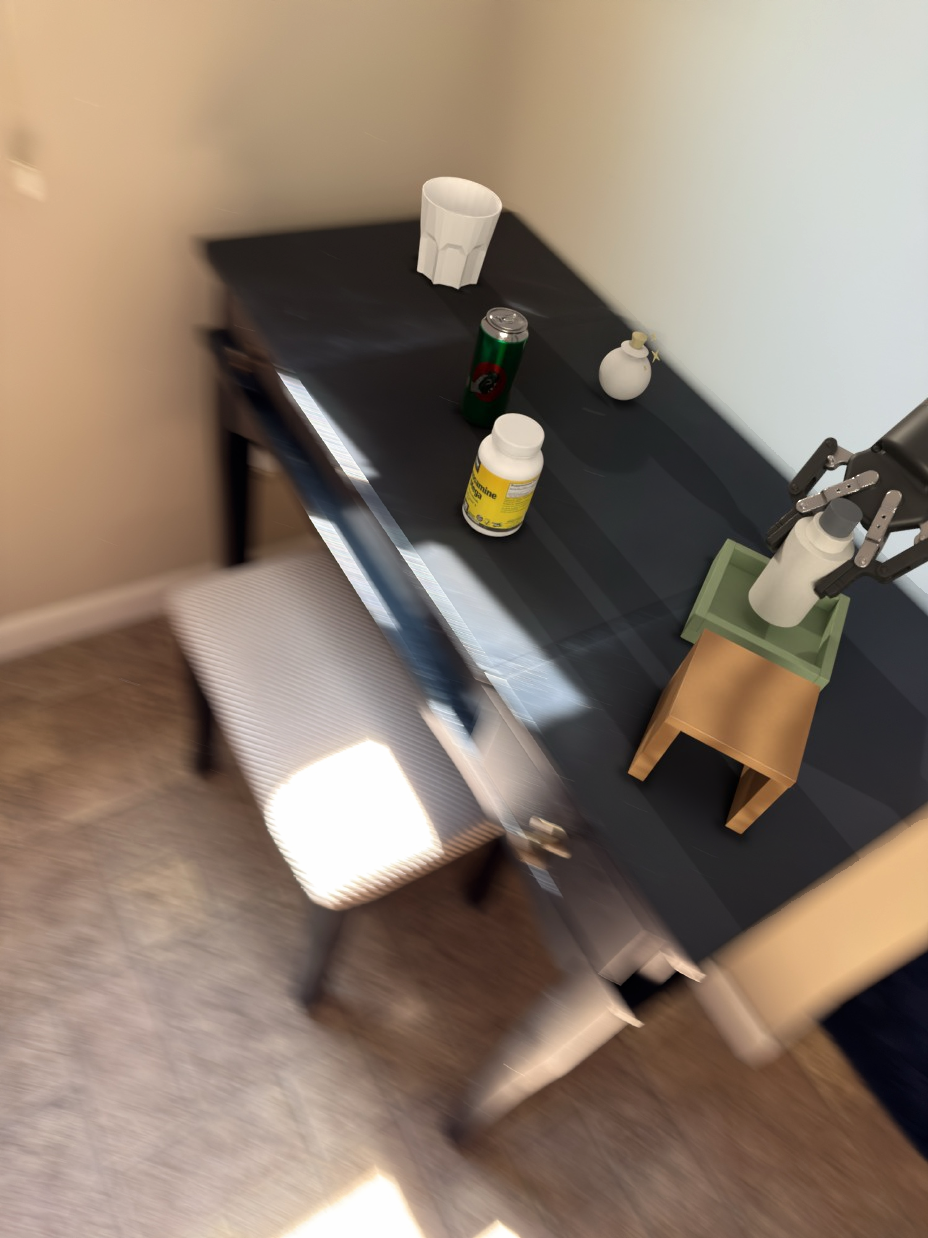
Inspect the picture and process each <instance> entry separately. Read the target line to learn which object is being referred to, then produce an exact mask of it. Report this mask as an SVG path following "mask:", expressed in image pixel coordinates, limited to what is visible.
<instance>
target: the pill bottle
mask: <svg viewBox="0 0 928 1238" xmlns="http://www.w3.org/2000/svg"><path fill="white" fill-rule="evenodd" d="M544 440H545V431H544V429H543V427H542V426H541V425H540V424H539V422H537V421H536V420H534V419H533V418H531V417H530V416H527V415H524V414H522V413H521V414H520V413H514V412H512V413H505V415H502V416H500V417H499V418H498V419H497V420H496V421H495V424H494V426H492V430H491V433H490V434H489V435H487V436H486V437H485V438H484V439H483V440H482V441H481V443H480V445H479V447H478V450H477V453H476V457H475V460H474V464H473V467H472V471H471V475H470V478H469V482H468V484H467V487H466V492H465V494H464V495H465V496H464V499H463V503H462V514H463V517H464V519H465V521H466V522H467V523H468V524H469V526H470V527H471V528H472V529H474V530H475V531H476V532H478V533H481V534H483V535H486V536H489V537H506V536H509V535H512V534H514V533H516V532H517V531H518V530H520V528H521V526H522V525H523V522H524V519H525V516H526V513H527V512H528V509H529V507H530V503H531V500H532V498H533V495H534V492H535V490H536V486H537V484H538V481H539V478H540V476H541V474H542V470H543V468H544V467H543V466H544V455H543V452H542V450H541V449H542V446H543V443H544Z"/></svg>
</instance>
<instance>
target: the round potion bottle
mask: <svg viewBox="0 0 928 1238" xmlns="http://www.w3.org/2000/svg"><path fill="white" fill-rule="evenodd" d="M650 336H651V339H650V342H651V343H652V342H653V340H655V341H657V338H656V337H655V336H656V332H654V333H653V334H652V333H651V332H650ZM648 339H649V337H648V335H646V334H645V333H644V332H641V331H633V332H632V335H631V340H624V341H622V343H620V344H621V345H620V347H617V348H614V349H613V350H611V351H610V352H609V353H607V354H606V356H604V358H603V359H602V361H601V363H600V366H599V369H598V380H599V383H600V386H601V388H602V390H603V391H604V392H605V393H606V394H607V395H608V396H609V397H610V398H613V399H615V400H620V401H628V400H633V399H635V398H637V397H638V396H640V395H641V394H642V393H643V392H644V391H645V390H646V389H647V388H648V386H649V384H650V381H651V378H652V366H651V363H650V360H649V358H648V356H649V353H650V352H649V350H648V347H646V346H645V345H644V344H645V343H646V342H647V341H648ZM651 352H652V354H653V360H652V363H654V362H655V360H658V361H660V358H659V356H658V354H659V348H658V349H657V350H656V351H655V352H654V351H653V350H651Z"/></svg>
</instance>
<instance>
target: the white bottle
mask: <svg viewBox="0 0 928 1238" xmlns="http://www.w3.org/2000/svg"><path fill="white" fill-rule="evenodd" d="M862 517H863V514H862V511H861V509H860V508H859V507H858V506H857V505H856V504H855V503H853V502H851V501H850V500H847V499H844V498H835V499H833V500H832V501H831V502H830V504H829V505H828V506H827V508H826V509H825V511H824V512H819V513H817V514H816V515H815V516H814V517H812V516H811V517H804V518H802V519H800V520H799V521H798V522H797V523H796V524H795V526H794V527H793V529H792V530H791V532H790V533H789V535H788V536H787V537H786V539H785V540H784V542H783V543H782V545H781V546H780V547H779V549H778V550H776V551H775V552H774V555H773V556H772V557H771V558H770V559H771V560H770V562H769V563H768V565H767V566H766V568H765V569H764V570H763V572H762V573H761V575H760V576H759V578H758V579H757V581H756V582H755V583H754V585H753V586H752V588H751V589H750V591H749V602H750V604H751V606H752V608H753V610H754V611H755V612H756V613H757V614H758V615H759V616H760V617H761V618H762V619H764V620H765V621H767V622H769V623H771V624H773V625H776V626H780V627H793V626H796V625H797V624H799V623H800V622H801V621H802V619H803V618H804V617H805V616H806V614H807V613H808V612H809V611H810V609H811V608H812V607H813V606H814V604H815V603H816V602H817V601H818V599H819V597H817V596H816V595H815V593H814V588H815V587H816V586H817V585H818V584H820V583H821V582H822V581H823V580H824V579H826V578H827V577H828V576H829V575H830V574H832V573H833V572H834V571H835V570H836V569H838V568H839V567H840V566H841V565H842V564H844V563H845V562H846V561H847V560H849V561H850V562H851V560H852V558H854V556H855V551H856V548H855V543H854V541H853V539H854V537H855V528H856V527H857V526H858V525H859V524H860V520H861V519H862Z"/></svg>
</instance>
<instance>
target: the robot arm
mask: <svg viewBox="0 0 928 1238" xmlns="http://www.w3.org/2000/svg"><path fill="white" fill-rule="evenodd" d="M842 466H846V467H845V471H844V475H843V480H842V481H841V482H838V483H836V484H833V485H830V486H828V487H825V488H823V489H822V490H821V491H820V492H818V493H815V494H812V495H810V496H808V495H809V494H810V493H811V491H812V490H813V489H814V487H815V486H816V485H817V484H818V482H819V481H820V480H821V479H822V478H823V476H824V475H825V474H826V472H827V471H830V472H833V471H835V470H837V469H838V468H840V467H842ZM787 491H788V495H789V498H790V500H791V502H792V504H793V505H792V508H791V509H790V510H789V511H788V512H787V513H786V514H785V515H784V516H782V517H781V518H780V519H779V520H778V521H777V522H775V523H774V524H773V525H772V526H771V527H769V529H768V531H767V532H766V536H767V538H766V540H765V542H764V543H765V545H766V547H767V548H768V549H769V550H770V551H771V552H772V553H776V552H777V550H778V549H779V547H780V546H781V545H782V543H783V542H784V540H785V539H786V537H787V536H788V535H789V533H790V532H791V530H792V529H793V527H794V526H795V524H796V523H797V522H798V521H799V520H800V519H802V518H804V517H811V516H812V517H814V516H815V515H816V514H817V513H819V512H824V511H825V509H826V508H827V506H828V505H829V504H830V502H831V501H832V500H833V499H835V498H844V499H847V500H850V501H851V502H853V503H855V504H856V505H857V506H858V507H859V508H860V509H861V511H862V514H863V517H862V519H861V520H860V522H859V524H860V525H861V527H862V528H863V529H864V530H865V531H866V534H865V536H864V540H863V541H862V544H861V546H860V547H859V550H858V551H857V553H856V556H855V558H853V559H851V560H850V561H849V560H847V561H846V562H845V563H844V564H842V565H841V566H840V567H839V568H838V569H836V570H835V571H834V572H833V573H832V574H830V575H829V576H828V577H827V578H826V579H824V580H823V581H822V582H821V583H820V584H818V585H817V586H816V587H815V588H814V593H815V595H816V596H817V597H819V598H820V599H823V598H825V597H826V596H828V597H829V598H830V599H832V598H834V597H837V596H838V595H839V594H840V593H841V594H843V592H844V591H845V590H847V589H848V588H849V587H850V586H851V585H853V584H854V583H855V582H856V581H858V580H859V579H860V578H862V577H869V578H871V579H874V580H876V581H877V582H878V583H879V584H880V585H888V584H890V583H892V582H894V581H895V580H897V579H900V578H901V577H903V576H905V575H906V574H909V573H910V572H912V571H913V570H916V569H917V568H919V567H921V566H922V565H925V564H926V563H928V397H926V398H925V399H924V400H923V401H921V403H919V404H918V405H917V406H916V407H915V408H914V409H912V411H911V410H910V412H909V413H908V414H907V415H906V416H904V417H903V418H901V419H900V420H899V422H897V423H896V424H895V425H894V426H893V427H892V428H891V429H889V430H888V431H887V432H886V433H884V434H883V435H882V436H881V437H880V438H878V439H877V440H876V441H875V442H874V443H873V444H872V445H871V446H870V447H868V448H866V449H864V450H861V451H858V452H857V451H856V452H855V453H853V452H852V451H849V450H847V449H846V448H844V447H842V446H841V445H839V444H838V440H837V439H836V438H835V437H833V436H832V437H831V436H830V437H826V438H825V439H824V440H822V442H821V443H820V445H819V446H818V447H817V448H816V450H815V451H814V452H813V453H812V455H811V456H810V457H809V458H808V459H807V461H806V462H805V464H804V465H803V466H802V467H801V468H800V470H799V471H798V472H797V473H796V475H795V476H794V477H793V478H792V479H791V480H790V482H789V484H787ZM918 529H919V533H918V534H917V535H915V536H914V539H913V545H912V546H910V547H908V548H906V549H904V550H903V551H901V552H899V553H898V554H895V555H894V556H891V557H890V558H889V559H886V560H885V561H883V562H882V561H880V560H877V559H878V557H879V555H880V554H881V552H882V551H883V549H884V547H885V545H886V543H887V542H888V539H889V538H890V535H891V533H897V532H905V531H912V530H918Z"/></svg>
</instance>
